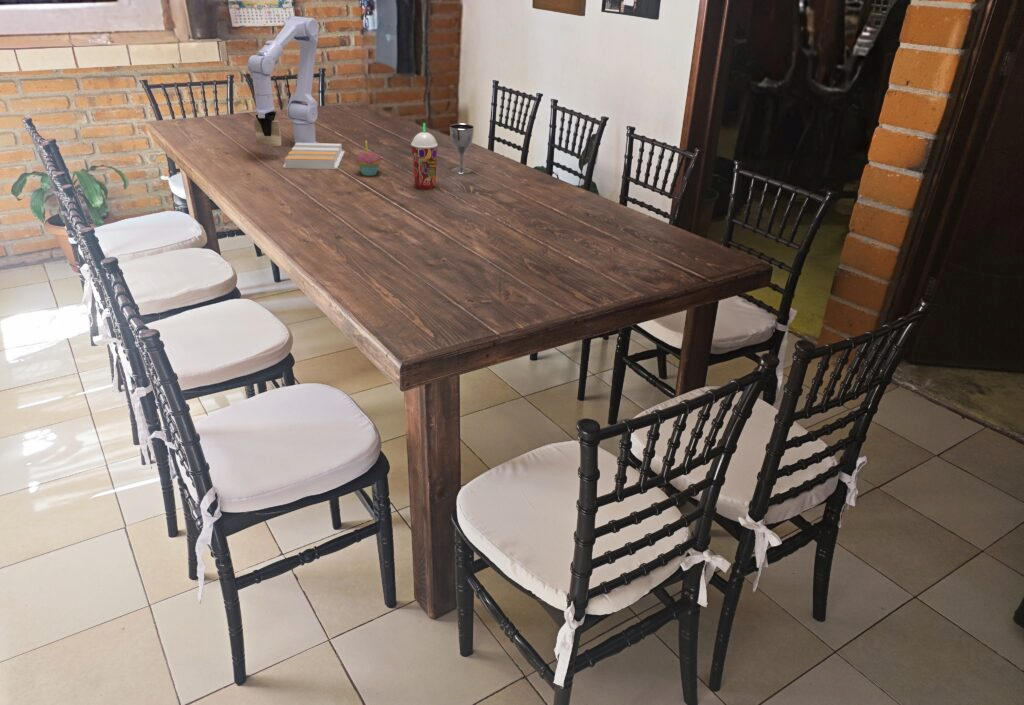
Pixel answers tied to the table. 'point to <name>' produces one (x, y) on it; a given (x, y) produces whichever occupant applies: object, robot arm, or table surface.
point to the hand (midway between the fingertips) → (268, 134)
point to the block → (268, 140)
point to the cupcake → (368, 162)
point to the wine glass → (461, 142)
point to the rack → (314, 156)
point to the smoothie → (424, 159)
